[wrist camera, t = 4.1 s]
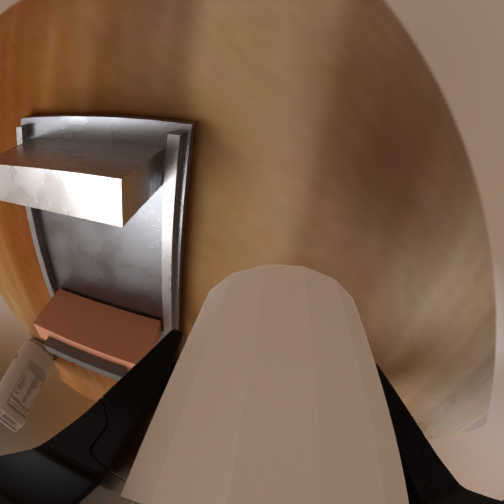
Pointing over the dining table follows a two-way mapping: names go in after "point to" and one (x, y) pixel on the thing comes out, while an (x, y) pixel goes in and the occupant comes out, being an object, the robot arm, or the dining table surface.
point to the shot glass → (272, 402)
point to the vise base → (111, 245)
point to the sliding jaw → (96, 334)
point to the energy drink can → (23, 382)
